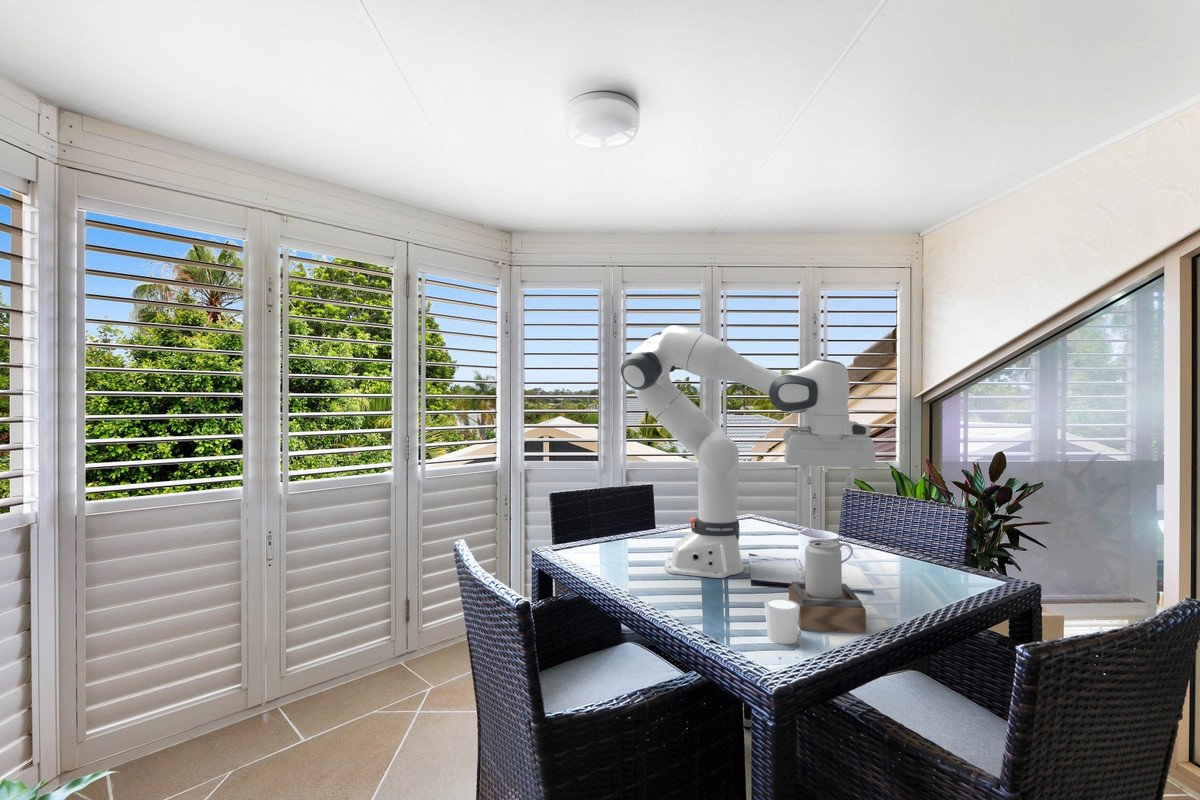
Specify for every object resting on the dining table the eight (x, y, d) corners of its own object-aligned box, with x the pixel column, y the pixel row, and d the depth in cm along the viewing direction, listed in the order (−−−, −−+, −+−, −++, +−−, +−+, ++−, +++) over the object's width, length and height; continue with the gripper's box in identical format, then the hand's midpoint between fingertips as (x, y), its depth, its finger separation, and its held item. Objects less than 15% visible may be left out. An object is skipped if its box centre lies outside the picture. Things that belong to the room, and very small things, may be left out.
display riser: (800, 629, 117) (800, 600, 117) (789, 607, 130) (788, 580, 130) (865, 633, 115) (865, 603, 115) (847, 609, 128) (847, 582, 128)
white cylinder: (759, 631, 117) (759, 598, 117) (791, 630, 117) (790, 597, 117) (772, 646, 110) (772, 610, 110) (806, 644, 110) (805, 609, 110)
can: (816, 588, 128) (816, 536, 128) (848, 597, 122) (848, 542, 122) (798, 595, 123) (798, 541, 123) (831, 605, 118) (830, 548, 118)
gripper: (786, 427, 132) (785, 485, 132) (878, 428, 129) (877, 488, 129) (781, 425, 138) (781, 481, 138) (869, 426, 135) (869, 483, 135)
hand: (828, 484), depth 134 cm, fingers open, 8 cm apart
